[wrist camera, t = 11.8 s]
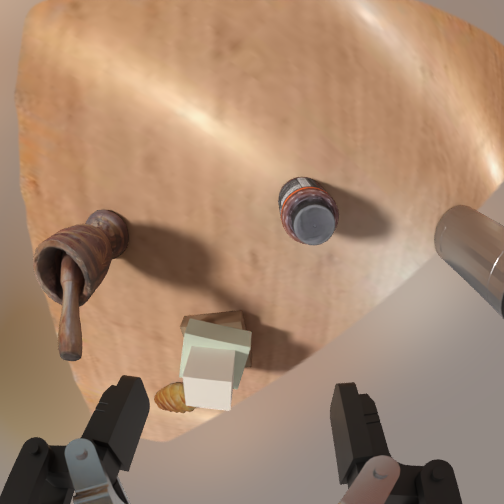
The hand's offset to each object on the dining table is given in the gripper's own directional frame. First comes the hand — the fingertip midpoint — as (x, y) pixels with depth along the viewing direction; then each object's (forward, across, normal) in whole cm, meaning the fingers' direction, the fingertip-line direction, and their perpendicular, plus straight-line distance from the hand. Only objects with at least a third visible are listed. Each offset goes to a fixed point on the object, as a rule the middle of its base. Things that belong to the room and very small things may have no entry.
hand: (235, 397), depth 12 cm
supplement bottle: (+30, -6, -1) cm, 31 cm away
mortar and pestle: (+30, +21, +4) cm, 37 cm away
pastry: (+30, +16, +36) cm, 50 cm away
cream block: (+24, +6, +21) cm, 32 cm away
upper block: (+27, +7, +21) cm, 35 cm away
